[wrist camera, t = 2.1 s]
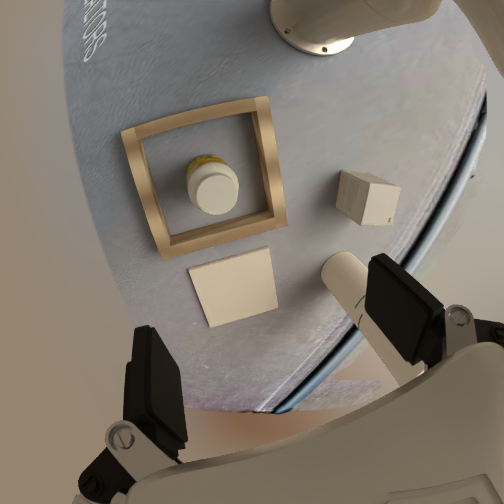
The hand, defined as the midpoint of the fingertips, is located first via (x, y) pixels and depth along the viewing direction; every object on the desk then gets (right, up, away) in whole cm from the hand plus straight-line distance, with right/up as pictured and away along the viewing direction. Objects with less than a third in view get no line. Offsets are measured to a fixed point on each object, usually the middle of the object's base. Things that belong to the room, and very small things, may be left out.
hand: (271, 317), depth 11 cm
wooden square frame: (-6, +12, +22) cm, 26 cm away
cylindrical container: (+14, 0, +35) cm, 38 cm away
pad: (-3, -3, +32) cm, 32 cm away
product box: (+15, +12, +29) cm, 35 cm away
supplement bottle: (-6, +13, +23) cm, 27 cm away
